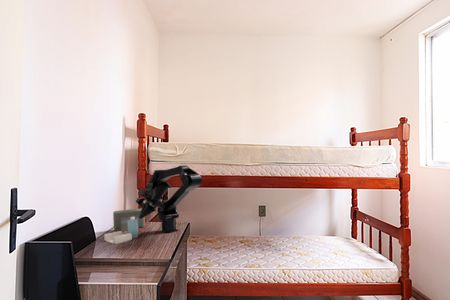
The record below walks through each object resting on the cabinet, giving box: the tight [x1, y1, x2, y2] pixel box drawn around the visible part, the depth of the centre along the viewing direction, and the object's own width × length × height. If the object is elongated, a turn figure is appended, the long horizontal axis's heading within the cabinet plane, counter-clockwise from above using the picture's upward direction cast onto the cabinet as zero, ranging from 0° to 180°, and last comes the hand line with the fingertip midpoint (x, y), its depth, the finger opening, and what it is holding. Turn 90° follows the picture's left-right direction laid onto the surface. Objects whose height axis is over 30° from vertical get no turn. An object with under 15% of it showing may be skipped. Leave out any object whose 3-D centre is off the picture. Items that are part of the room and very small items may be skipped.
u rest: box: [103, 230, 133, 245], centre depth 140 cm, size 8×10×3 cm
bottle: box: [127, 217, 139, 239], centre depth 146 cm, size 5×5×10 cm
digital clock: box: [112, 208, 146, 232], centre depth 164 cm, size 16×9×11 cm, turn 98°
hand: (140, 218), depth 149 cm, fingers closed
